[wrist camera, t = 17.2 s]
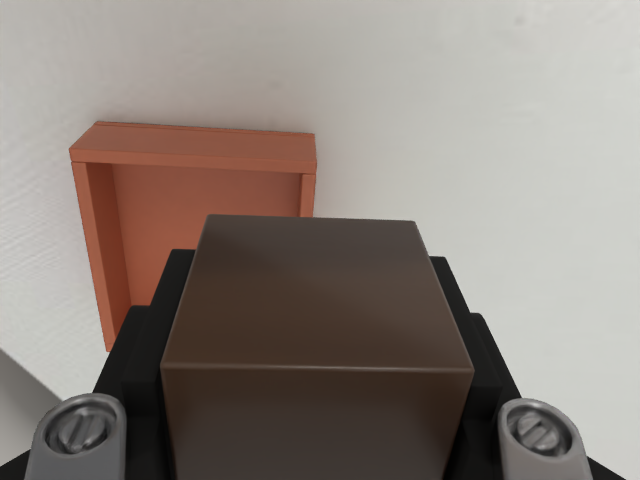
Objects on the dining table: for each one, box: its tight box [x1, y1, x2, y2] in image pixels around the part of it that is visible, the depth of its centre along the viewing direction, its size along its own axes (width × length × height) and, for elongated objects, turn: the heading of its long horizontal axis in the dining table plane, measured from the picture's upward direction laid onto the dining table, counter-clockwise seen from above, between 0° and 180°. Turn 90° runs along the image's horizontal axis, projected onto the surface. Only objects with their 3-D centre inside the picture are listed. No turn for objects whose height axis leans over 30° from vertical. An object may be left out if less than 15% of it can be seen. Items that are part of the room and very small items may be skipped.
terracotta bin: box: [69, 121, 317, 352], centre depth 26 cm, size 11×10×4 cm
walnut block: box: [160, 214, 475, 480], centre depth 10 cm, size 4×4×4 cm
